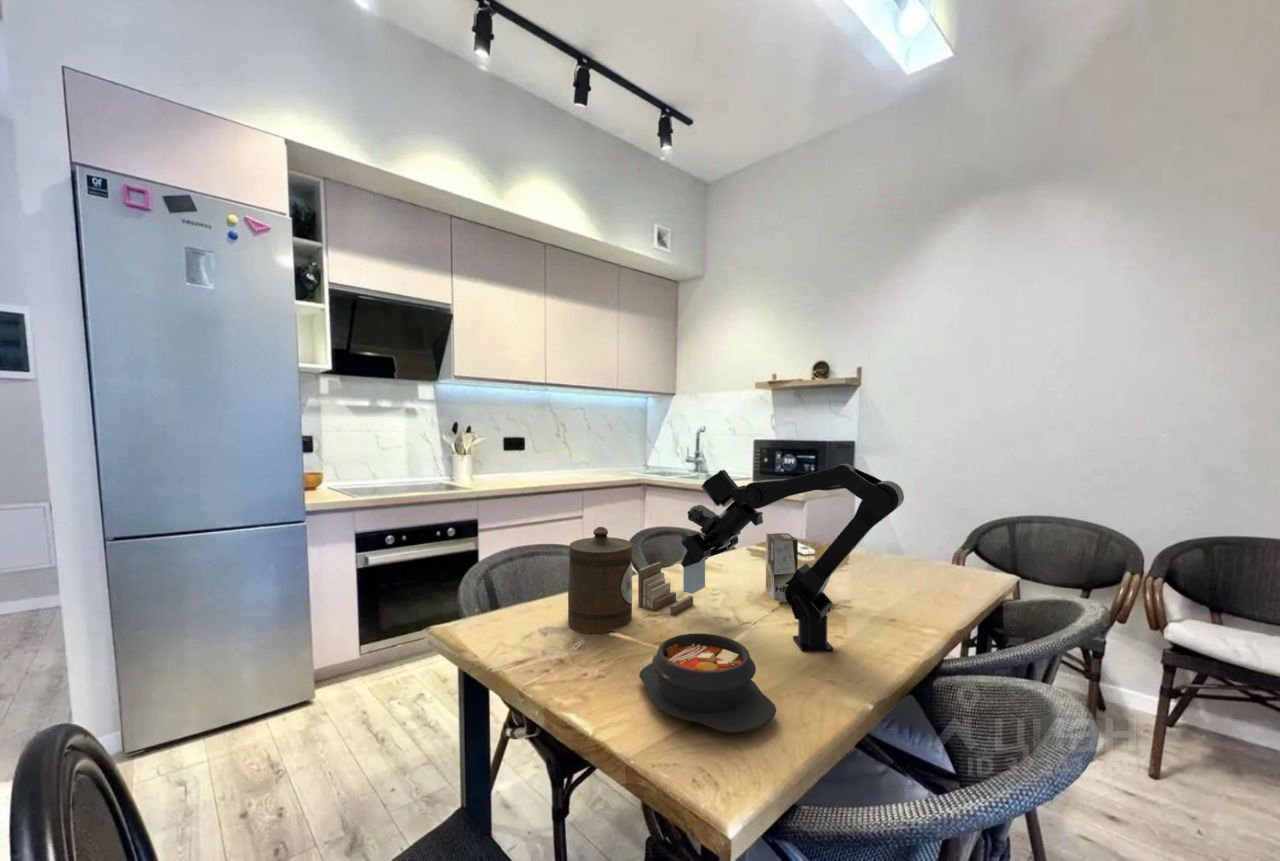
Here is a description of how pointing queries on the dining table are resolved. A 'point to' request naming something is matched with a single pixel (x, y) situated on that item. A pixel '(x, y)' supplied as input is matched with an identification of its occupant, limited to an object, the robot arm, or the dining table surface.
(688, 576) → the grey-blue panel
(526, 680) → the dining table surface
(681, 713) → the casserole
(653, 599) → the walnut rack
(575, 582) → the wooden container
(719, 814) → the dining table surface
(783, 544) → the coffee box
